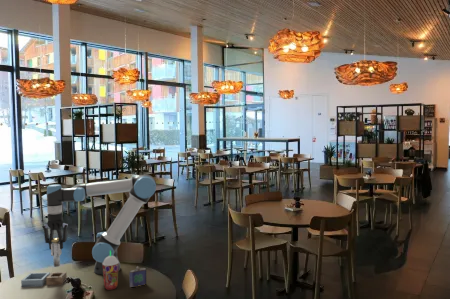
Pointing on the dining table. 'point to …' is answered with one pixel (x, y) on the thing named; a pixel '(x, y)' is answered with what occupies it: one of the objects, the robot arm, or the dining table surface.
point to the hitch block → (56, 278)
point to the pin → (56, 252)
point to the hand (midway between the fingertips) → (56, 254)
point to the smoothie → (110, 272)
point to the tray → (34, 279)
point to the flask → (137, 277)
